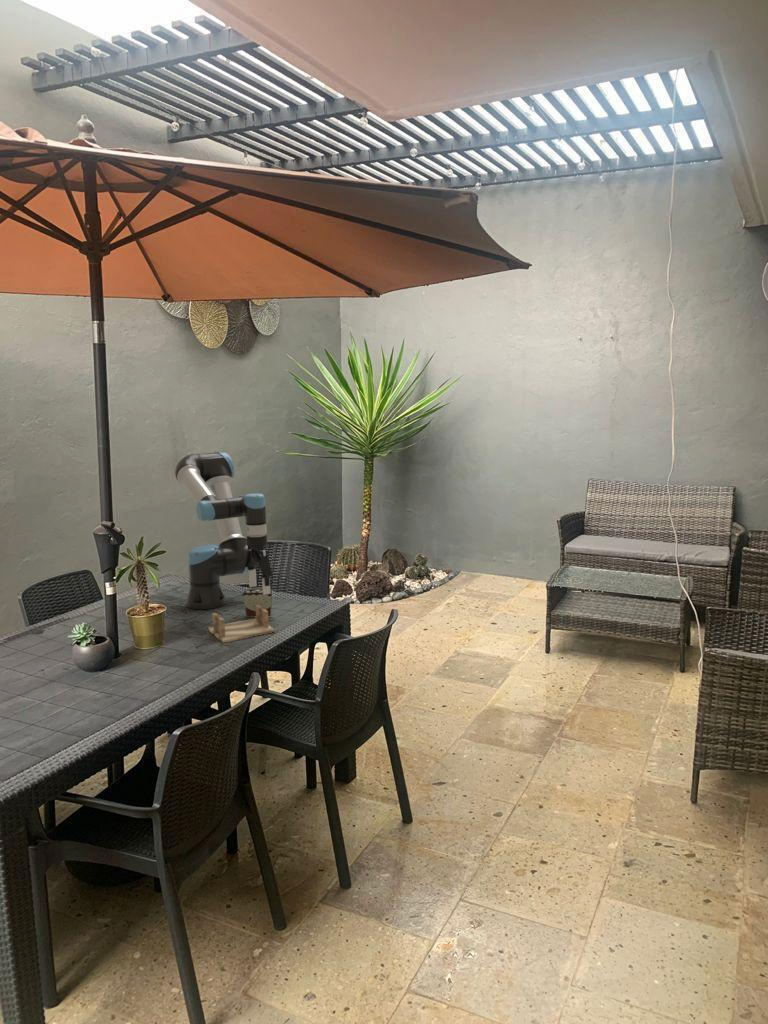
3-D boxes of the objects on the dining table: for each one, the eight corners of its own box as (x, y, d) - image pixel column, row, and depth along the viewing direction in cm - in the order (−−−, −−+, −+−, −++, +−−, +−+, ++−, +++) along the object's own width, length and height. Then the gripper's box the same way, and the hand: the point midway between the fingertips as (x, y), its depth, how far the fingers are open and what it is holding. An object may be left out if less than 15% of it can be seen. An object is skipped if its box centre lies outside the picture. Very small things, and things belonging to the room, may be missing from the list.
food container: (278, 612, 282) (277, 587, 280) (274, 617, 276) (273, 591, 274) (247, 611, 283) (245, 586, 281) (242, 616, 277) (241, 591, 275)
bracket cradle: (208, 629, 263) (206, 611, 262) (257, 620, 273) (256, 602, 271) (223, 643, 249) (222, 623, 248) (275, 632, 259) (274, 613, 258)
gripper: (235, 531, 283) (238, 584, 286) (259, 541, 262) (263, 599, 265) (253, 529, 286) (256, 581, 290) (279, 539, 265) (282, 595, 269)
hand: (259, 590), depth 277 cm, fingers open, 13 cm apart
